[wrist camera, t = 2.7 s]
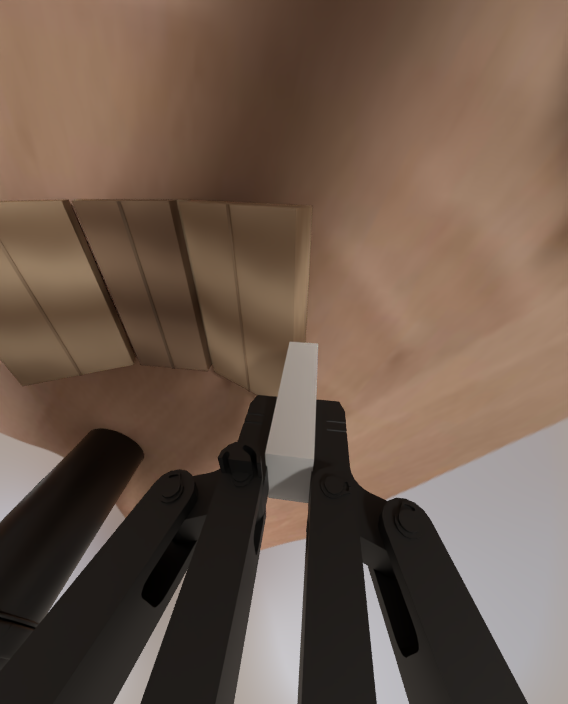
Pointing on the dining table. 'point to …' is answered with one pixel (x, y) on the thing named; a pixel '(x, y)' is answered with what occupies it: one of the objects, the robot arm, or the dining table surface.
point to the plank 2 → (250, 284)
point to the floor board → (149, 278)
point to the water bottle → (58, 530)
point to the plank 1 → (53, 297)
